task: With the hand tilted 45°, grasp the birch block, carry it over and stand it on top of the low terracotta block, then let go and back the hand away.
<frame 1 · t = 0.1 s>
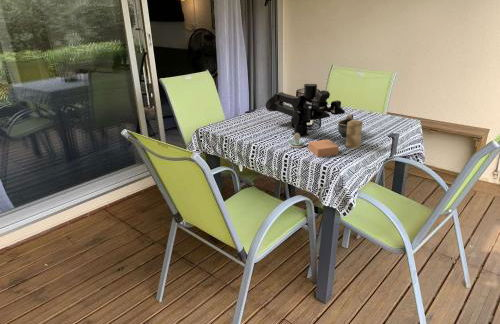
hand: (337, 114, 165), 17 cm above the table, tool horizontal, fingers open, 9 cm apart
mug: (346, 134, 189), on the table
terracotta block: (322, 152, 168), on the table
pacifier: (296, 146, 176), on the table
birch block: (352, 146, 173), on the table
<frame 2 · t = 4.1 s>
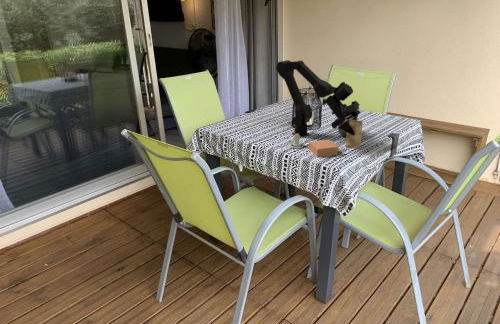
hand: (356, 133, 170), 7 cm above the table, tool tilted 45°, fingers closed on birch block, 5 cm apart
birch block: (353, 146, 173), on the table, touching gripper
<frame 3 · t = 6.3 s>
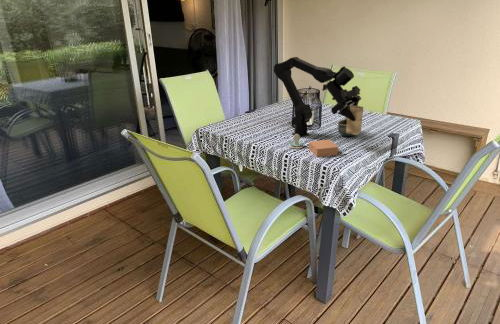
hand: (357, 119, 167), 13 cm above the table, tool tilted 45°, fingers closed on birch block, 5 cm apart
birch block: (353, 132, 170), point 7 cm above the table, touching gripper
when the fingers open (12 cm above the table, at t = 8.4 s): birch block drops 2 cm, resting on terracotta block.
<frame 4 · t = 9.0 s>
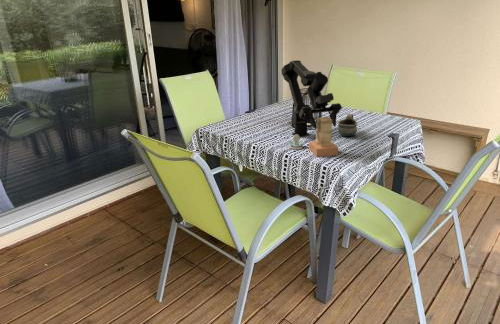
hand: (325, 127, 162), 12 cm above the table, tool tilted 45°, fingers open, 9 cm apart
terracotta block: (322, 152, 168), on the table, touching birch block
birch block: (323, 144, 167), point 4 cm above the table, touching terracotta block
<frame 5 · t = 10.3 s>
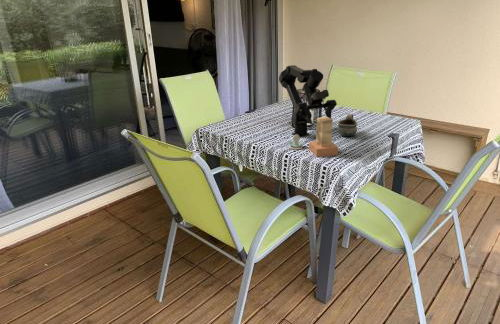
hand: (320, 123, 166), 13 cm above the table, tool tilted 45°, fingers open, 9 cm apart
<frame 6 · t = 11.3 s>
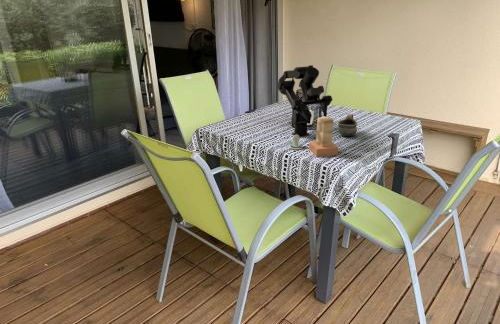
hand: (316, 118, 170), 14 cm above the table, tool tilted 45°, fingers open, 9 cm apart
terracotta block: (322, 152, 168), on the table
birch block: (323, 144, 167), point 4 cm above the table
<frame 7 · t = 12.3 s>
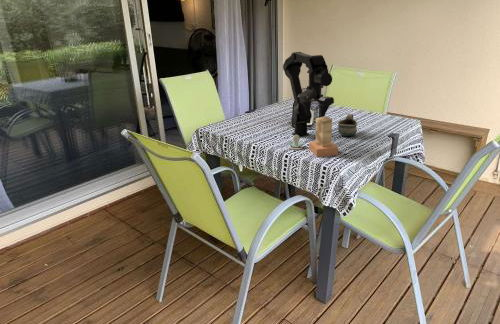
hand: (314, 117, 173), 13 cm above the table, tool pointing down, fingers open, 9 cm apart
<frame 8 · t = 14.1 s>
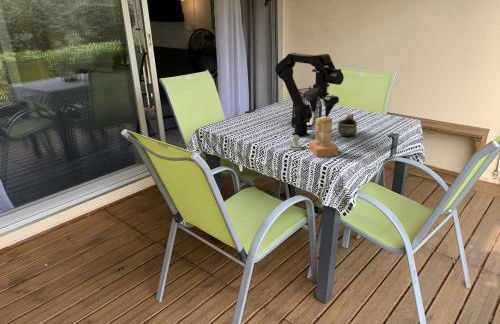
hand: (320, 114, 177), 13 cm above the table, tool pointing down, fingers open, 9 cm apart
terracotta block: (323, 152, 168), on the table, touching birch block
birch block: (323, 144, 167), point 4 cm above the table, touching terracotta block
at the end: birch block 0.4 cm off-centre on the terracotta block, point 4.2 cm above the terracotta block's base; birch block tilted 3°; the gripper is holding nothing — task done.
